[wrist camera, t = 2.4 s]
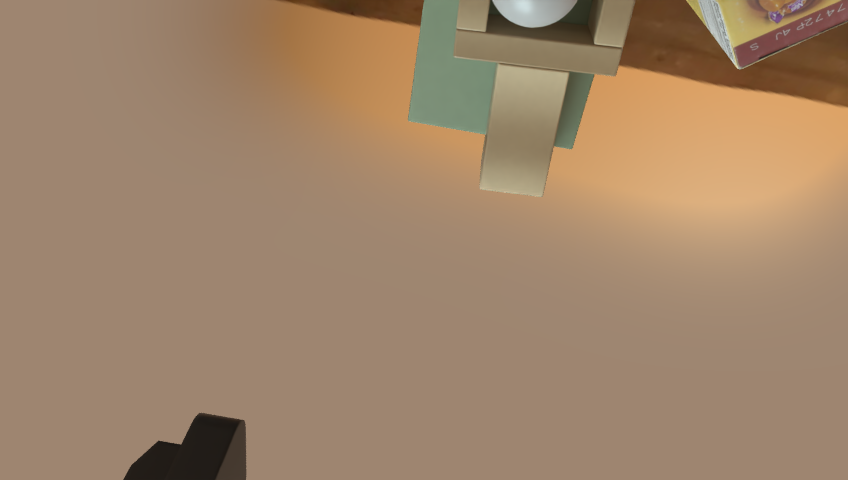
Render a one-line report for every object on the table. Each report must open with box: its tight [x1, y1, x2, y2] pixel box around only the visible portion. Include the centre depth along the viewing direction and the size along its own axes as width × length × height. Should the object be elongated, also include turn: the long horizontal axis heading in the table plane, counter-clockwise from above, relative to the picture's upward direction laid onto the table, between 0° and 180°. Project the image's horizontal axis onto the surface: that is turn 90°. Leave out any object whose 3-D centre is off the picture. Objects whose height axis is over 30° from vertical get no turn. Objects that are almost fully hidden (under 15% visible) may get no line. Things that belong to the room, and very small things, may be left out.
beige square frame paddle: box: [453, 0, 635, 197], centre depth 21 cm, size 10×5×2 cm, turn 175°
